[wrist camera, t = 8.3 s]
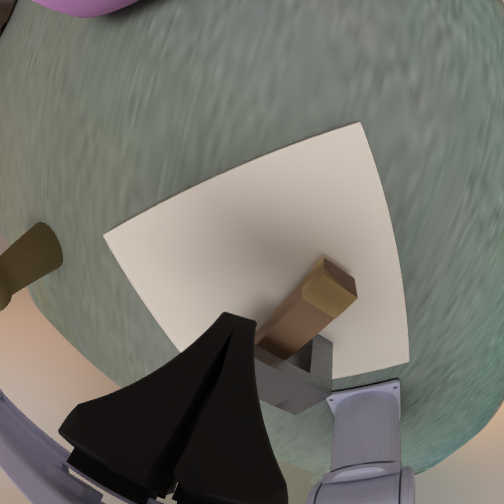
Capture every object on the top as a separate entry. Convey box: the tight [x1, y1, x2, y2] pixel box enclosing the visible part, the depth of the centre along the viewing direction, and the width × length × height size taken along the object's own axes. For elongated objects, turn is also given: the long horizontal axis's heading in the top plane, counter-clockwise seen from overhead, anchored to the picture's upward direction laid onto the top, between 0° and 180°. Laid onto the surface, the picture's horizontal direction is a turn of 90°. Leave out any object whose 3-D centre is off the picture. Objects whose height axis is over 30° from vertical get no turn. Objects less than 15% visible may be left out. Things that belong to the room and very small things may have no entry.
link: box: [254, 257, 358, 361], centre depth 19 cm, size 15×4×2 cm, turn 150°
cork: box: [0, 222, 62, 311], centre depth 20 cm, size 6×6×11 cm
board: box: [103, 122, 409, 379], centre depth 21 cm, size 20×21×1 cm
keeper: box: [254, 334, 333, 415], centre depth 20 cm, size 10×7×5 cm
